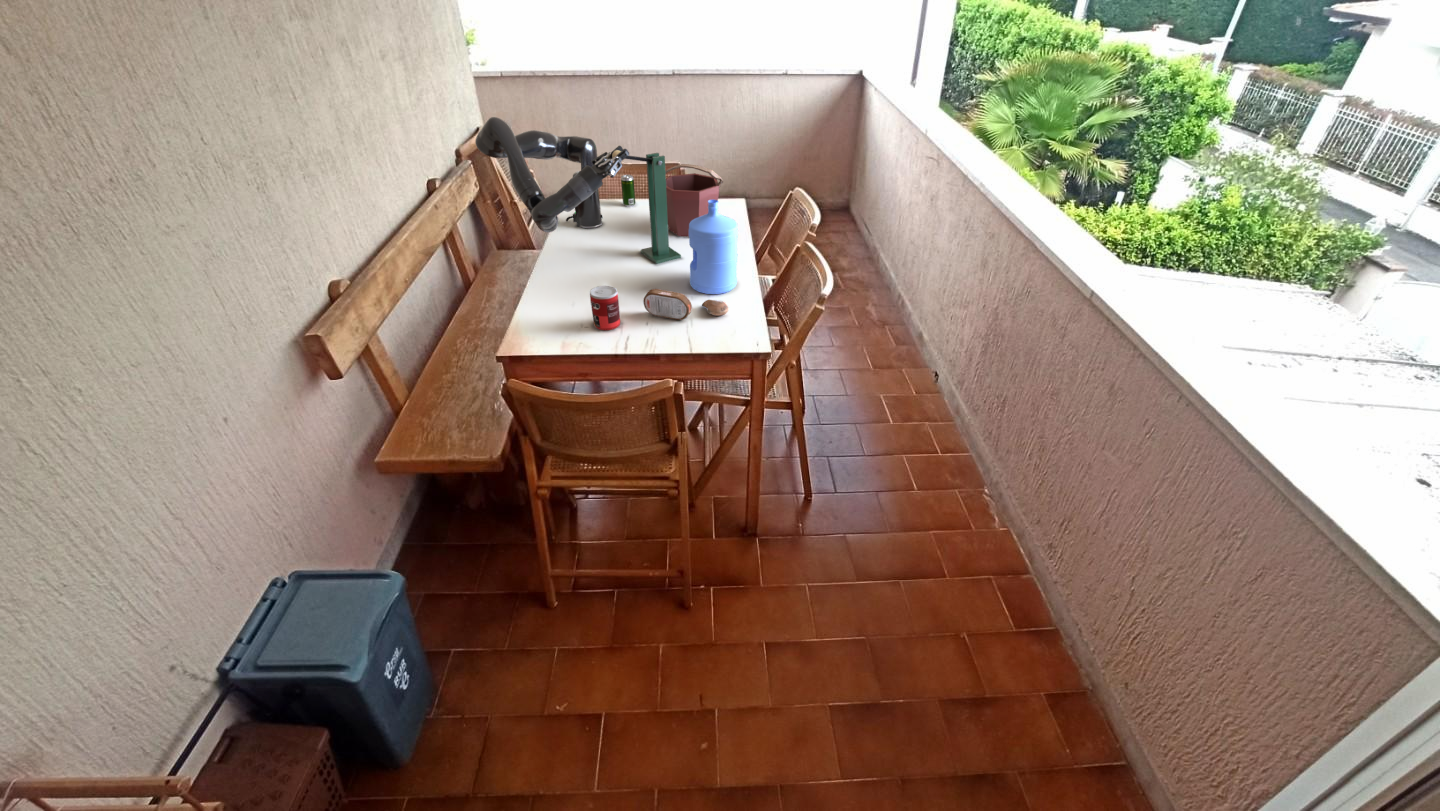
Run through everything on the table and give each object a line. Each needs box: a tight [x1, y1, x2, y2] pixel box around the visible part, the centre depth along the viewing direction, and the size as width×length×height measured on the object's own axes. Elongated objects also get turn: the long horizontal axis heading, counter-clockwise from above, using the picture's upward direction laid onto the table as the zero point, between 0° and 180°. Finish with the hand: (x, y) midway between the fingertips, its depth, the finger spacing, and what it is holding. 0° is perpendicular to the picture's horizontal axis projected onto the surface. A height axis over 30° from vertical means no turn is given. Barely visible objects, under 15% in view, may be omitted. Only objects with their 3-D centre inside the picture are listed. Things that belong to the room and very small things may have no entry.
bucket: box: [665, 163, 724, 238], centre depth 246 cm, size 24×22×25 cm
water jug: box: [688, 199, 739, 295], centre depth 206 cm, size 16×16×28 cm
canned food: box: [589, 285, 621, 331], centre depth 189 cm, size 8×8×11 cm
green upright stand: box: [640, 152, 682, 265], centre depth 222 cm, size 10×12×35 cm
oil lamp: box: [701, 299, 729, 317], centre depth 198 cm, size 9×4×8 cm
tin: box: [642, 288, 693, 321], centre depth 193 cm, size 15×3×8 cm, turn 71°
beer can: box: [620, 174, 636, 208], centre depth 273 cm, size 5×5×12 cm
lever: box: [612, 150, 655, 164], centre depth 209 cm, size 17×3×3 cm, turn 123°
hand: (624, 149), depth 205 cm, fingers closed on lever, 3 cm apart
